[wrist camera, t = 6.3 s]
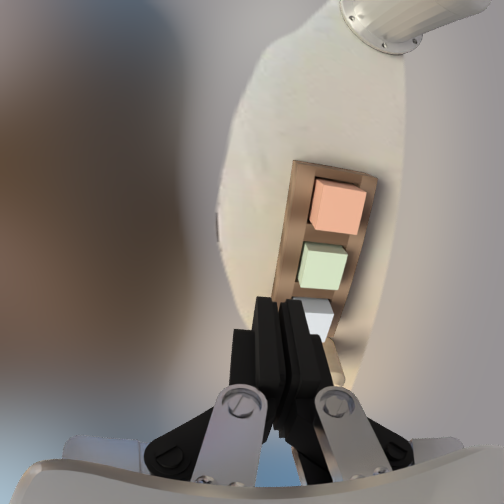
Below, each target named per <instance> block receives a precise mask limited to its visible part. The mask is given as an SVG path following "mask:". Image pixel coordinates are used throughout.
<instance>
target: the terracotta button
mask: <svg viewBox="0 0 504 504" xmlns="http://www.w3.org/2000/svg"><path fill="white" fill-rule="evenodd" d="M366 193H367V192H365V191H363V190H362V189H360V188H358V187H357V186H355V185H353V184H348V183H343V182H337V181H332V180H326V179H320V178H315V179H314V185H313V191H312V197H311V203H310V208H309V214H308V218H309V220H310V221H311V223H312V225H313V226H314V228H315V230H322V231H330V232H338V233H346V234H353V235H357V233H358V229H359V224H360V220H361V216H362V211H363V207H364V202H365V198H366Z"/></svg>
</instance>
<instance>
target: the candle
mask: <svg viewBox="0 0 504 504" xmlns="http://www.w3.org/2000/svg"><path fill="white" fill-rule="evenodd" d="M322 344H323V348H324V351H325V355H326V358H327V362H328V366H329V369H330V373H331V376H332V380H333V384H334V386H338V387H342V386H343V385H344V383H345V376H344V373H343V370H342V366H341V363H340V360H339V357H338V354H337V351H336V348H335V345H334V343H333V341H332V340H331V339H330V338H328V337H326V340H325V342H322Z"/></svg>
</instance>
